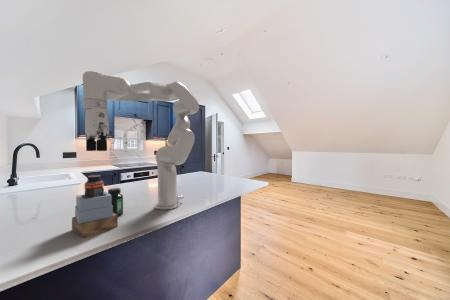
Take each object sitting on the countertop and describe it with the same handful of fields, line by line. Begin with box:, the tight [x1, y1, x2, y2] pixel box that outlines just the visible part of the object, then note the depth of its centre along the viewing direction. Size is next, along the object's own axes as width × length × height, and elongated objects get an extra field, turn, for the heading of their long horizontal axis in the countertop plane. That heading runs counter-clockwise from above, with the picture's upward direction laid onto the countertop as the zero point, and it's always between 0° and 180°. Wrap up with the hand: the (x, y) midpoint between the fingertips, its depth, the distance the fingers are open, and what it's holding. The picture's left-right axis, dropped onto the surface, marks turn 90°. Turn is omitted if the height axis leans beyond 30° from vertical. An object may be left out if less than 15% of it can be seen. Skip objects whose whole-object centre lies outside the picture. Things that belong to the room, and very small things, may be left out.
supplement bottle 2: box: [107, 187, 124, 218], centre depth 81 cm, size 7×7×12 cm
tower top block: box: [74, 190, 113, 224], centre depth 67 cm, size 10×10×8 cm
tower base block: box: [71, 213, 119, 239], centre depth 68 cm, size 11×11×5 cm
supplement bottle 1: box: [84, 174, 105, 199], centre depth 67 cm, size 6×6×11 cm
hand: (96, 150), depth 68 cm, fingers open, 9 cm apart
